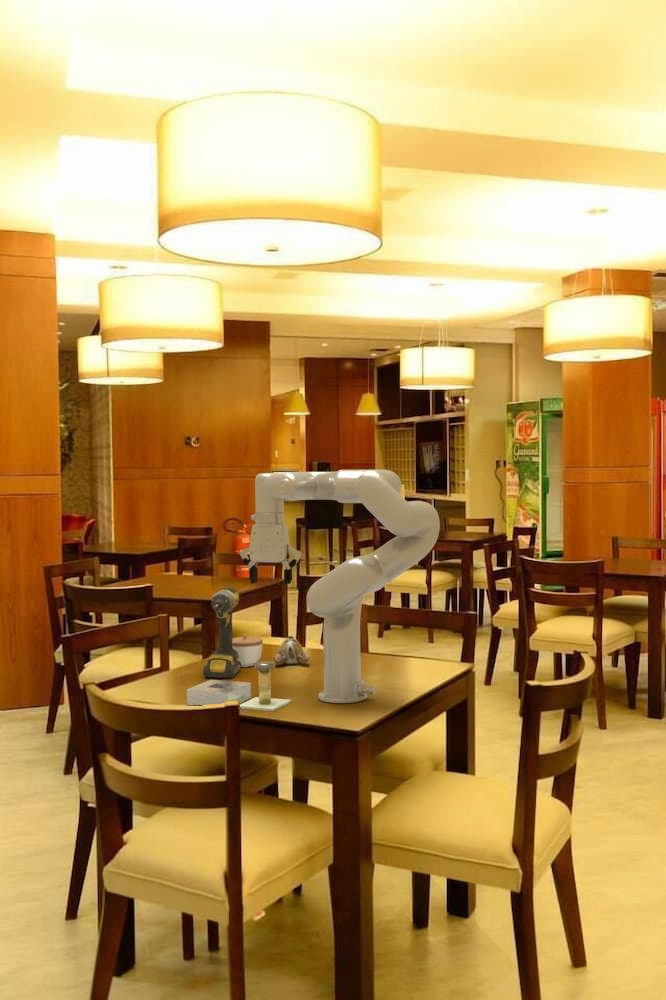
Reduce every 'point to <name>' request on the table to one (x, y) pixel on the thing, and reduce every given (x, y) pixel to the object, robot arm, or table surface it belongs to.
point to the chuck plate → (218, 692)
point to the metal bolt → (264, 681)
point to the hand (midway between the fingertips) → (270, 583)
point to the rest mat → (255, 705)
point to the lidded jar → (247, 649)
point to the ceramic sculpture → (291, 652)
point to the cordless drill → (224, 637)
